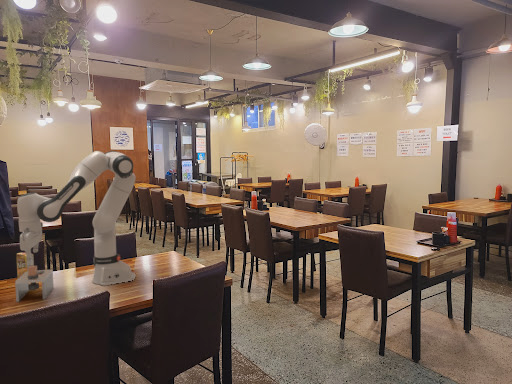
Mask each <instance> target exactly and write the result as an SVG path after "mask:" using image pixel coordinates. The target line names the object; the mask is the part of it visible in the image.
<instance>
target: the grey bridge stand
mask: <svg viewBox="0 0 512 384" xmlns="http://www.w3.org/2000/svg"><path fill="white" fill-rule="evenodd" d="M37 273H38V277H35V278H28V271H26V272H25V273H24V274H23V275H22V276H21V277H19V278H18V277H17V279H16V280H15V281H14V283H15V285H14V286H15V298H16V299H15V300H16V303H19V302H20V301H21V300H23V298H24V297H25V296H26V295H27V294H28V293H29V291H30V290H29V289H28V285H29V284H31V283H33V282H36V283H41V290H42V291H41V292H42V300H46V299H47V297H49V295H50V293H51V292H52V291H53V290H54V271H53V269H41V270H40V269H39V270H38V269H37Z"/></svg>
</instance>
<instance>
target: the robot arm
mask: <svg viewBox="0 0 512 384" xmlns="http://www.w3.org/2000/svg"><path fill="white" fill-rule="evenodd" d="M108 170H109V171H110V172H112V173H114V177H113V181H112V182H111V184H110V186H108V190H107V192H106V193H105V195H104V197H103V199H102V201H101V203H100V205H99V207H98V209H97V210H96V213H95V214H94V217H93V219H92V223H91V224H92V227H93V245H94V246H93V248H94V255H93V266H94V269H93V270H94V271H93V277H92V283H93V284H95V285H100V286H104V287H105V286H111V284H112V285H117V284H116V283H119V284H123V283H122V282H125V283H129V282H128V281H131V282H133V281H134V279H135V280H136V278H135V277H136V276H137V275H136V273H134V272H133V271H132V269H131V266H130V265H129V264H128V263H126V262H124V261H123V260H121V254H119V253H117V238H116V237H117V236H116V234H117V233H116V230H117V229H116V223H117V221H118V219H119V216H120V215H121V213H122V210H123V208H124V206H125V205H126V202H127V200H128V199H129V196H130V195H131V192H132V190H133V189H134V186H135V183H136V180H137V179H136V178H137V177H136V175H135V173H134V162H133V160H132V158H130V156H128V155H126V154H124V153H122V152H119V151H117V150H110V151H106V152H103V151H100V150H95V151H93V152H91V153H89V154H88V155H87V156H86V157H84V158H83V159H81V160H80V162H79V163H78V164H76V166H75V167H74V169H73V170H72V171H71V174H70V177H69V179H68V181H67V183H66V184H65V185H64V186H63V187H62V188H61V189H60V191H59V192H57V193H56V194H55V195H54V196H53V197H46V196H43V195H40V194H38V193H37V192H28V193H24V194H22V195H19V196H18V198H17V202H16V203H17V204H16V205H17V208H16V209H17V215H18V229H19V232H21V234H20V235H19V248H20V250H21V251H22V252H23V251H24V253H26V256H27V258H31V257H32V254H34V253H38V252H39V243H40V242H41V241H42V239H43V227H44V224H43V222H45V223H46V222H47V223H52V222H53V223H54V222H56V221H58V220H59V219H60V218H61V216H62V214H63V211H64V209H65V207H66V206H67V205H68V204H69V202H70V201H72V200H73V198H74V197H75V196H76V195H78V193H79V192H80V191H82V190H84V189H85V188H86V187H88V186H89V185H90V184H92V183H94V181H96V179H97V178H98V177H99V176H101V174H102V173H104V172H105V171H108ZM42 221H43V222H42ZM32 248H33V249H32ZM32 252H33V253H32ZM132 280H133V281H132Z"/></svg>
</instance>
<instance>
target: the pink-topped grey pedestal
mask: <svg viewBox="0 0 512 384" xmlns="http://www.w3.org/2000/svg"><path fill="white" fill-rule="evenodd" d="M37 271H38V265H34V266H30V267H28V278H35V277H38V275H39V274H38V273H37ZM39 283H40V282H33V283H29V285H28V289H29V291H36V290H38V289H40V284H39Z"/></svg>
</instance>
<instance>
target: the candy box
mask: <svg viewBox="0 0 512 384" xmlns="http://www.w3.org/2000/svg"><path fill="white" fill-rule="evenodd" d="M34 260H35V259H34V253H32V257H31V258H27V256H26V253H25V251H24V252H23V251H22V252H18V253H16V271H17V279H18V278H19V277H21V276H22V275H23V274H24V273H25V272H26V271H28V267H30V266H35V261H34Z"/></svg>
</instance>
